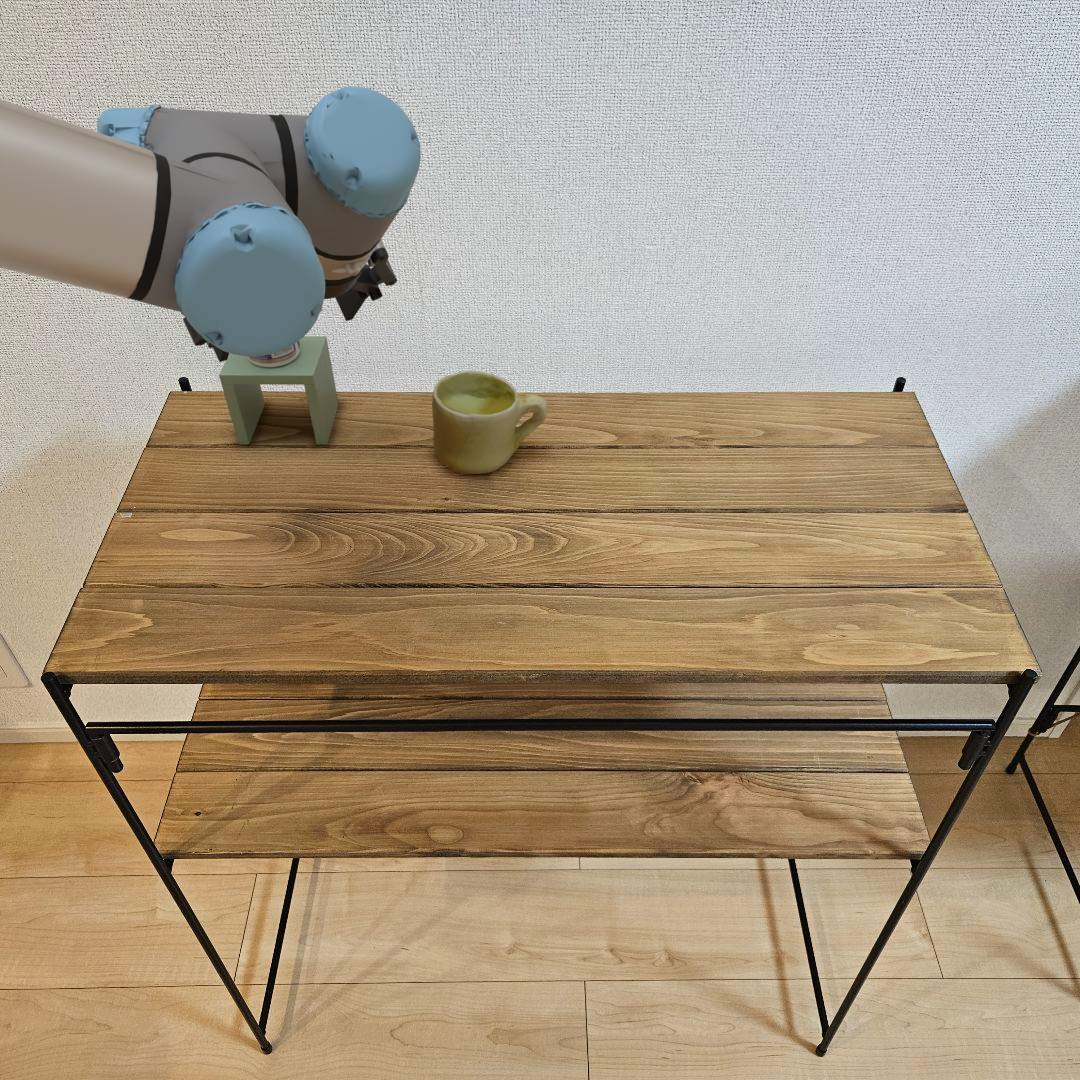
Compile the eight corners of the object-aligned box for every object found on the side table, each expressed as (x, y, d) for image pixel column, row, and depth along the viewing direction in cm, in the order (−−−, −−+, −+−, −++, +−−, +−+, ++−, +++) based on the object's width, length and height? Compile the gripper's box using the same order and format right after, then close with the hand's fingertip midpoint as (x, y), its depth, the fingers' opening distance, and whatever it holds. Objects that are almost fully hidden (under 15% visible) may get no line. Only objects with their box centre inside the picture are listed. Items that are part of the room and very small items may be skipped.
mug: (410, 470, 94) (428, 380, 89) (432, 439, 103) (449, 356, 99) (522, 500, 94) (545, 413, 89) (533, 467, 103) (555, 386, 99)
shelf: (238, 444, 100) (218, 375, 94) (255, 403, 106) (237, 335, 100) (327, 445, 100) (313, 375, 94) (338, 404, 106) (326, 336, 100)
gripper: (190, 328, 65) (176, 403, 84) (476, 241, 76) (406, 325, 95) (145, 233, 65) (142, 329, 84) (439, 159, 75) (377, 260, 94)
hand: (282, 327), depth 89 cm, fingers open, 13 cm apart
